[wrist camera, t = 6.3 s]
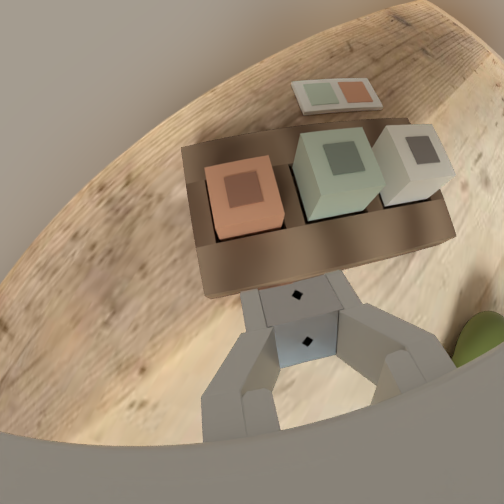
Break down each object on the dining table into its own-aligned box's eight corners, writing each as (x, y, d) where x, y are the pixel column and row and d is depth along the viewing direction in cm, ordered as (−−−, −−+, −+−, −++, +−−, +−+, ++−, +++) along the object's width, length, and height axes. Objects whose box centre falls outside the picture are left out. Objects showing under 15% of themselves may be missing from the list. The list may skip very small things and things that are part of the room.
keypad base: (396, 134, 27) (407, 117, 24) (438, 244, 24) (456, 236, 21) (187, 164, 26) (180, 147, 23) (210, 299, 23) (204, 295, 21)
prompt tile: (365, 81, 29) (367, 77, 28) (381, 109, 28) (383, 105, 27) (290, 85, 28) (291, 80, 28) (303, 115, 27) (304, 111, 27)
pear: (529, 336, 17) (465, 432, 17) (497, 329, 22) (441, 411, 22) (502, 300, 18) (432, 405, 18) (469, 297, 23) (408, 385, 23)
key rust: (266, 184, 25) (268, 154, 20) (279, 234, 24) (285, 213, 19) (212, 194, 25) (203, 166, 20) (222, 246, 24) (215, 227, 19)
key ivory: (408, 152, 23) (432, 123, 19) (427, 198, 22) (456, 174, 18) (366, 157, 23) (386, 124, 18) (384, 206, 22) (411, 180, 17)
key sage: (344, 159, 23) (362, 125, 18) (362, 210, 22) (387, 183, 17) (292, 167, 23) (300, 132, 18) (308, 221, 22) (321, 194, 17)
